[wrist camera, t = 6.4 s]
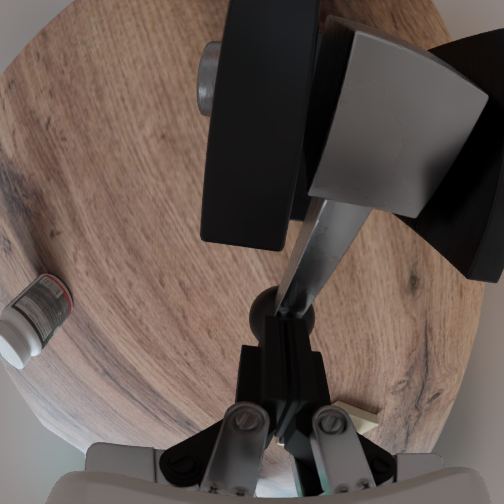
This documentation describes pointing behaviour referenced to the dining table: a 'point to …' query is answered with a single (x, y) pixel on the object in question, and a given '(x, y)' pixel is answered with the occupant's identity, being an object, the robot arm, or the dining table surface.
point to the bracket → (293, 127)
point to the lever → (368, 149)
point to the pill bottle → (33, 319)
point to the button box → (356, 418)
